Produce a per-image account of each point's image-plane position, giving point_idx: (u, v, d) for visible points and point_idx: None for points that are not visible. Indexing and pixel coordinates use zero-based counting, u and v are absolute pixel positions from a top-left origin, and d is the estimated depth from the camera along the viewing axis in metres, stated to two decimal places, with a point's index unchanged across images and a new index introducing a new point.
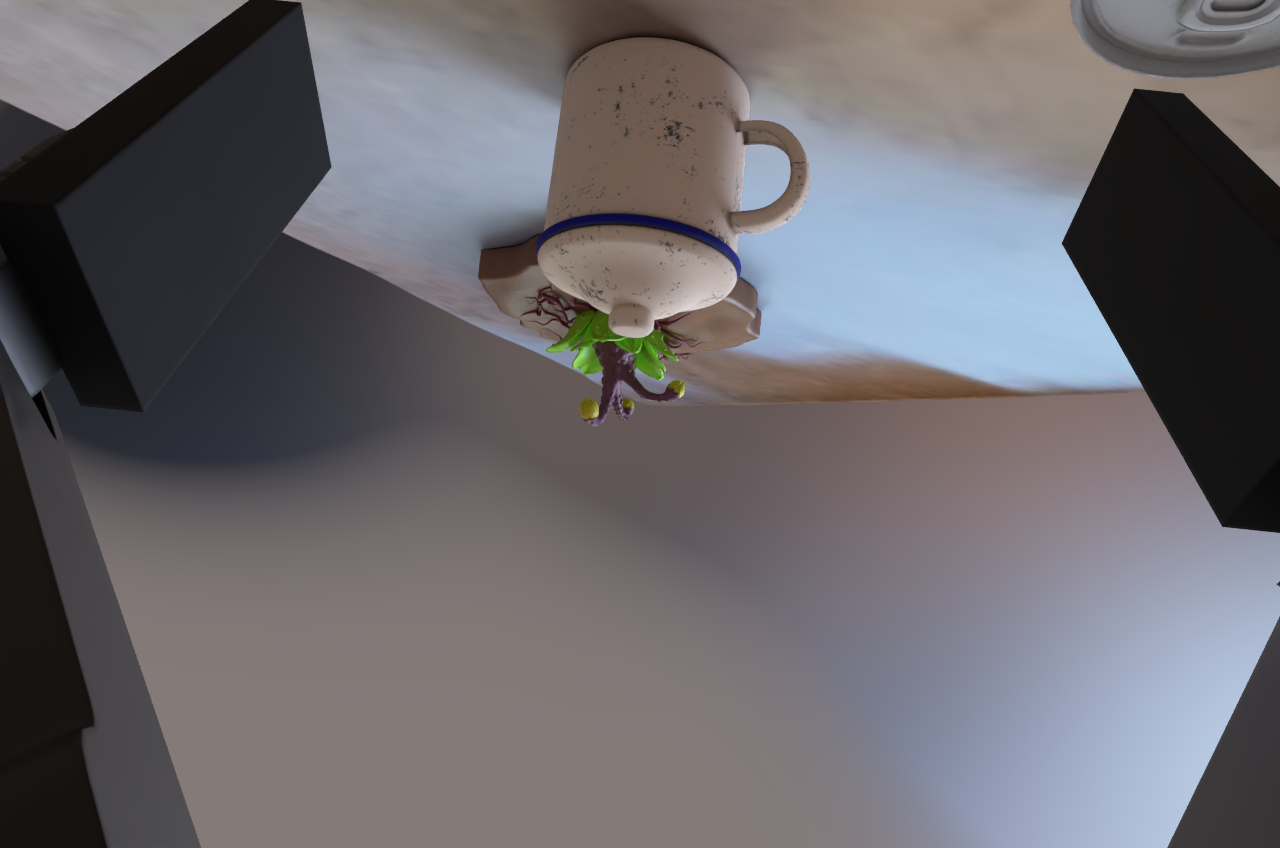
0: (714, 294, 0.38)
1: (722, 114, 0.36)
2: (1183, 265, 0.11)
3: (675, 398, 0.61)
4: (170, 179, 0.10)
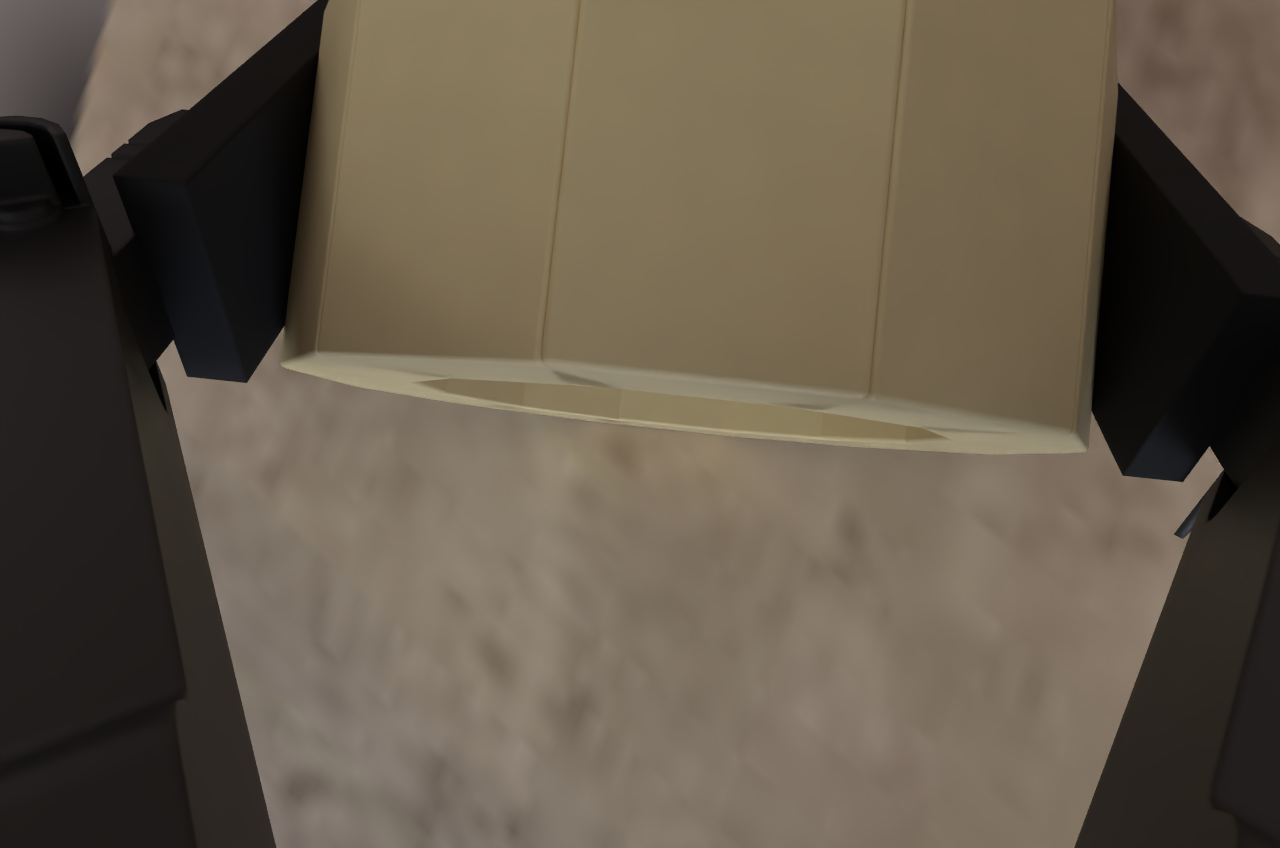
0: None
1: None
2: None
3: None
4: (272, 161, 0.11)
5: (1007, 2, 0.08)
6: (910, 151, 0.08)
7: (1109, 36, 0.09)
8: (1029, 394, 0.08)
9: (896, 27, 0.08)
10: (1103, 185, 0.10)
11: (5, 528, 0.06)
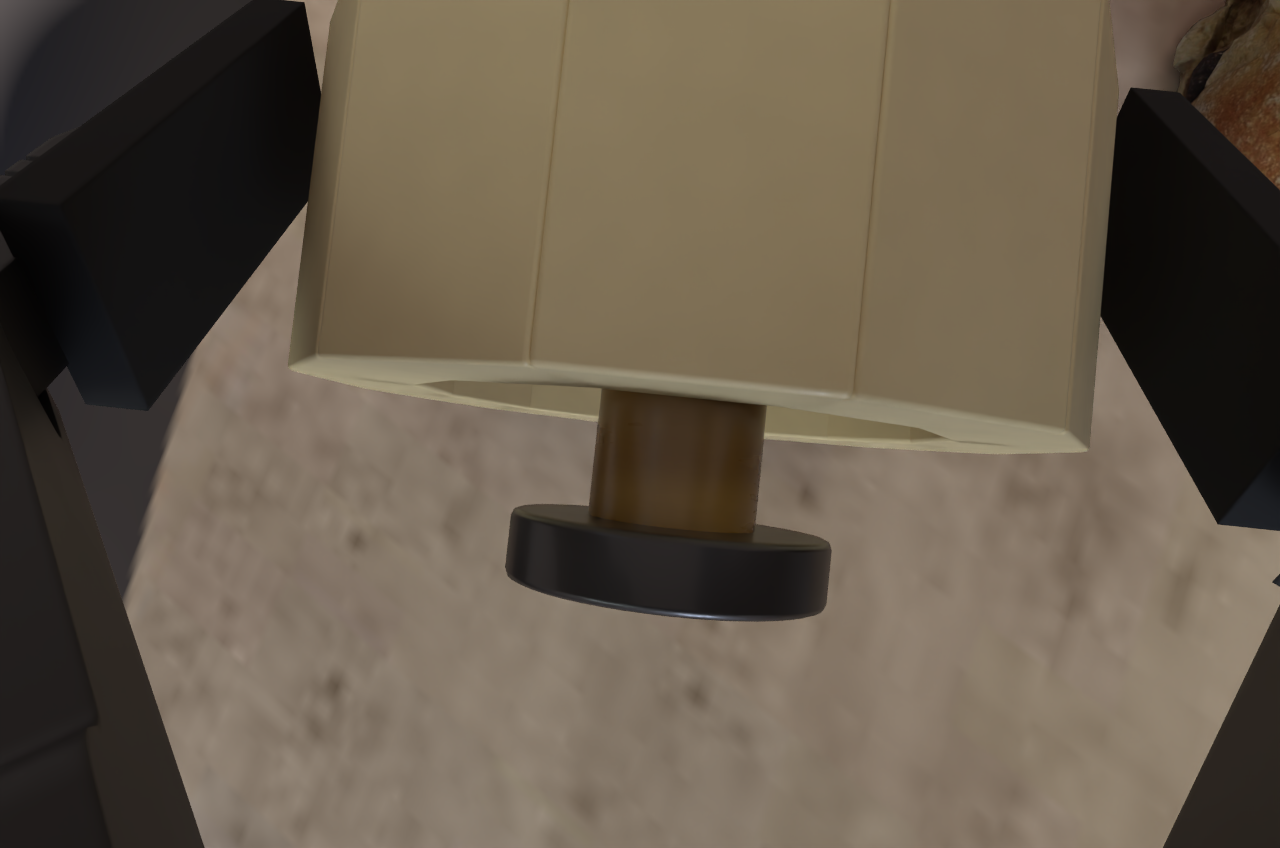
0: None
1: None
2: (1179, 263, 0.11)
3: None
4: (175, 178, 0.10)
5: (994, 3, 0.08)
6: (894, 151, 0.08)
7: (1101, 34, 0.09)
8: (1019, 393, 0.08)
9: (878, 30, 0.08)
10: (1099, 183, 0.10)
11: None
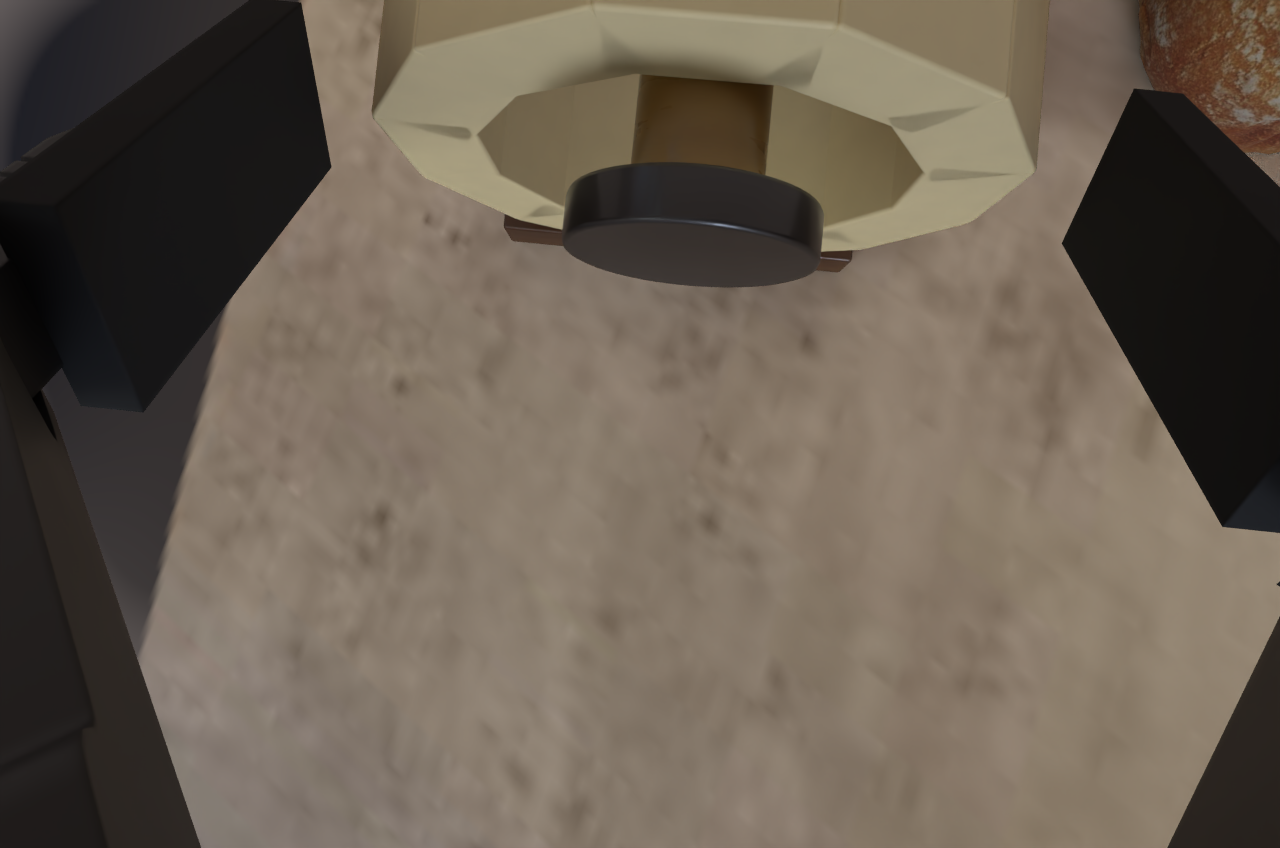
0: None
1: None
2: (1183, 265, 0.11)
3: None
4: (170, 179, 0.10)
5: None
6: None
7: None
8: (968, 55, 0.11)
9: None
10: None
11: None
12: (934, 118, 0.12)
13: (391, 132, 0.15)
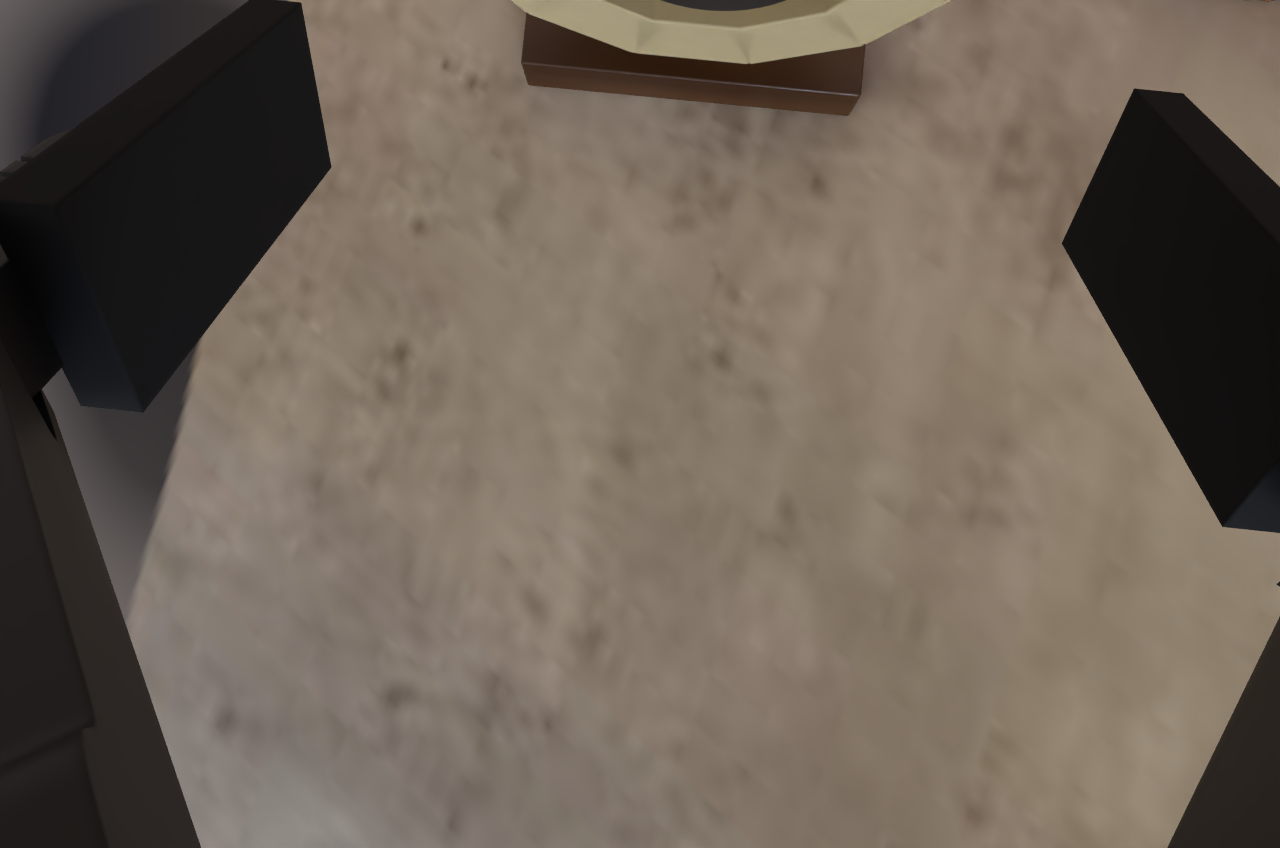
0: None
1: None
2: (1183, 265, 0.11)
3: None
4: (170, 179, 0.10)
5: None
6: None
7: None
8: None
9: None
10: None
11: None
12: None
13: None
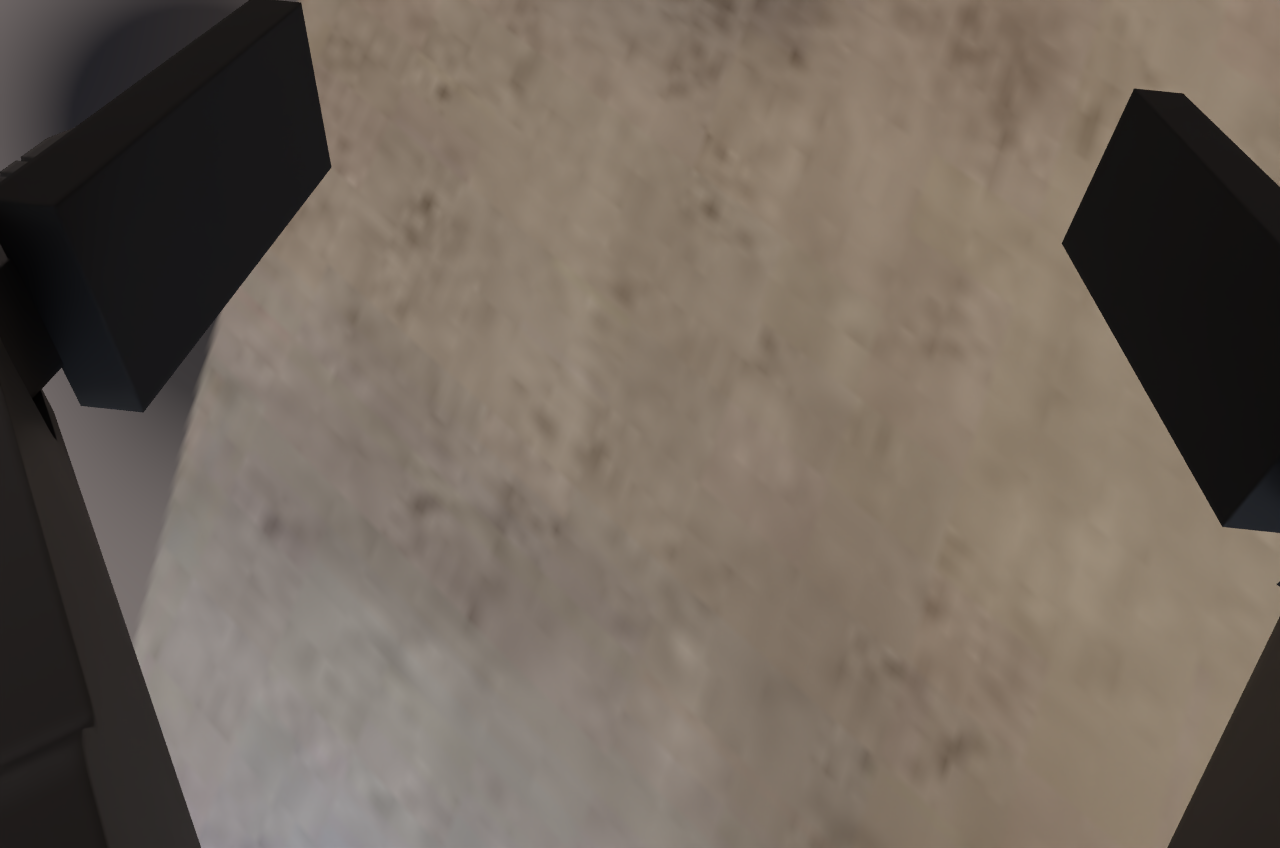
0: None
1: None
2: (1183, 265, 0.11)
3: None
4: (170, 179, 0.10)
5: None
6: None
7: None
8: None
9: None
10: None
11: None
12: None
13: None
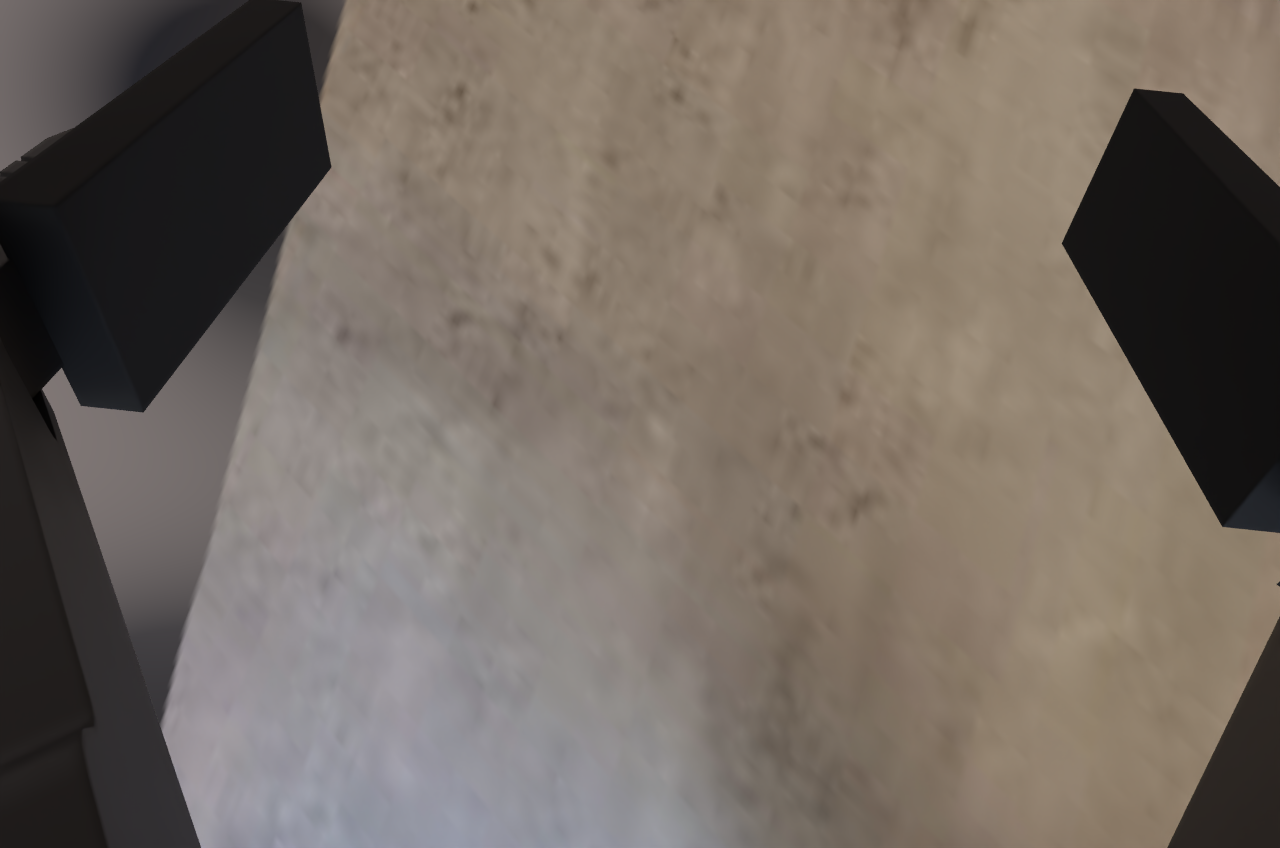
0: None
1: None
2: (1183, 265, 0.11)
3: None
4: (170, 179, 0.10)
5: None
6: None
7: None
8: None
9: None
10: None
11: None
12: None
13: None
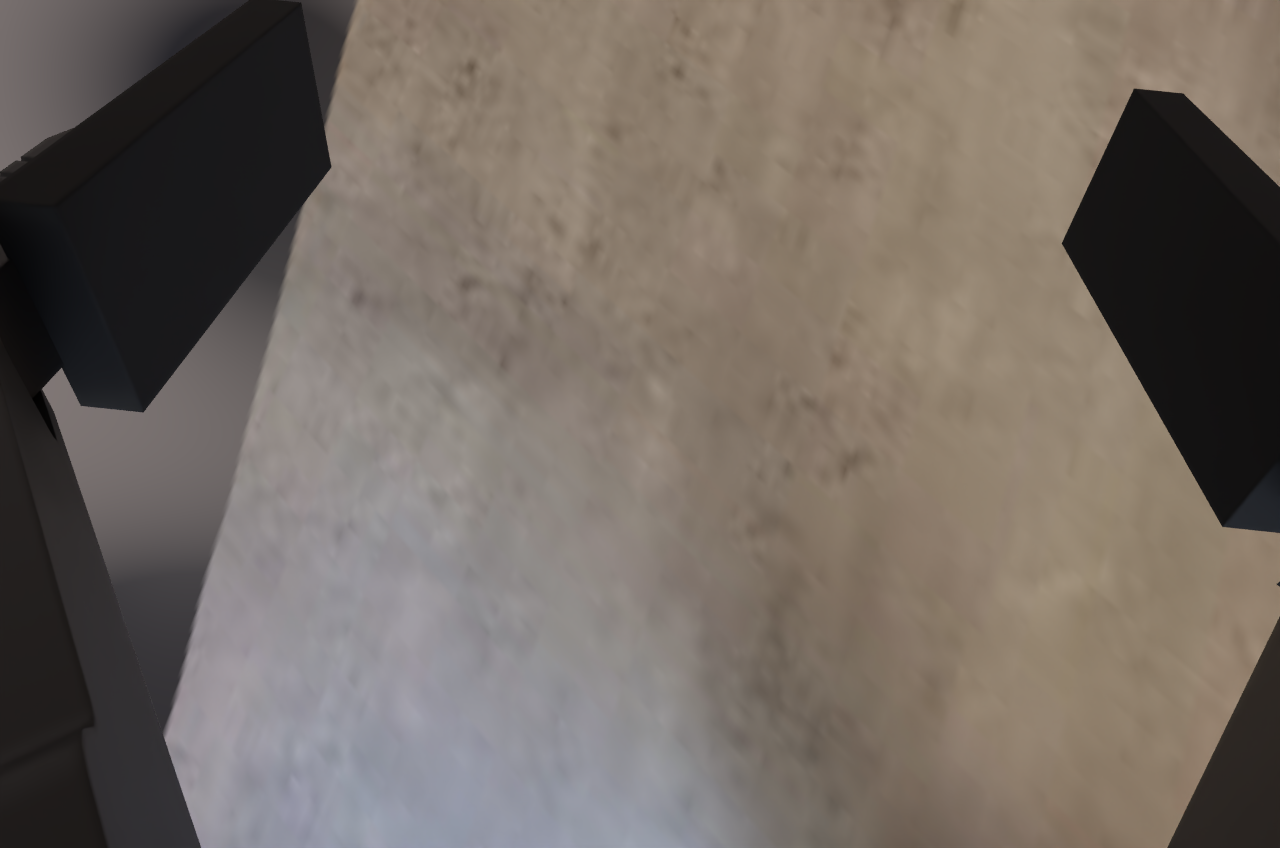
0: None
1: None
2: (1183, 265, 0.11)
3: None
4: (170, 179, 0.10)
5: None
6: None
7: None
8: None
9: None
10: None
11: None
12: None
13: None
